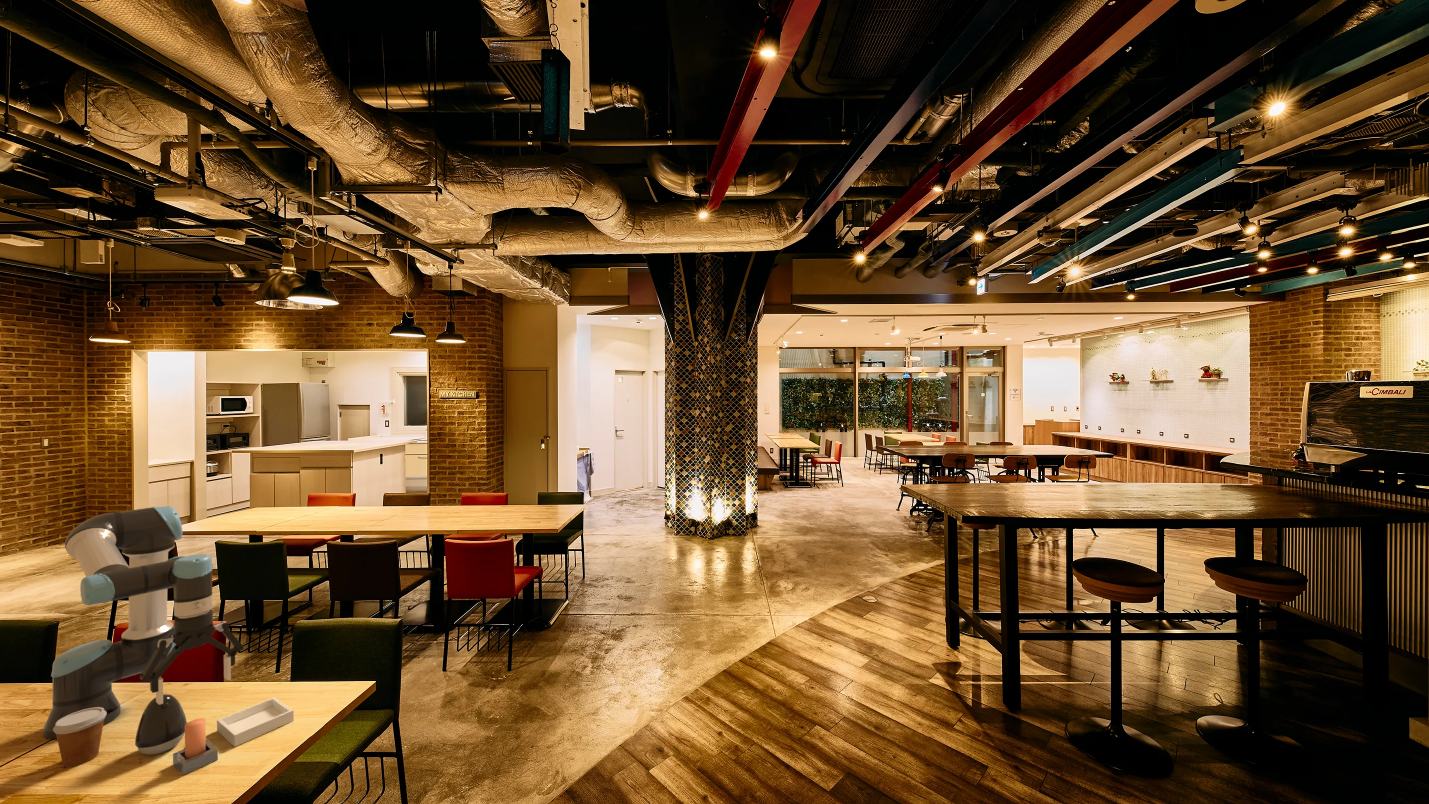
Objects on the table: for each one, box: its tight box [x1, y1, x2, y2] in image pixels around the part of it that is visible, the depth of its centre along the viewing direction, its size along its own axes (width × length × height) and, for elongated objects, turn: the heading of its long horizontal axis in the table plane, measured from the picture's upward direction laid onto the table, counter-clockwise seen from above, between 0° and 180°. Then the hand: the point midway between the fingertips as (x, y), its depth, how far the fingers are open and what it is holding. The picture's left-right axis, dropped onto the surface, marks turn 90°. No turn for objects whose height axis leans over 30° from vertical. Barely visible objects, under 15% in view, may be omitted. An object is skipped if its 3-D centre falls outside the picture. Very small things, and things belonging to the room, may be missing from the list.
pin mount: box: [172, 738, 219, 776], centre depth 144 cm, size 8×7×3 cm
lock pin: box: [184, 717, 207, 760], centre depth 144 cm, size 4×4×11 cm
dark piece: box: [134, 693, 188, 756], centre depth 149 cm, size 10×10×15 cm
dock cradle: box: [216, 696, 295, 748], centre depth 160 cm, size 14×14×3 cm
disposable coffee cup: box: [53, 707, 107, 768], centre depth 145 cm, size 10×10×12 cm
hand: (194, 690), depth 143 cm, fingers open, 13 cm apart
